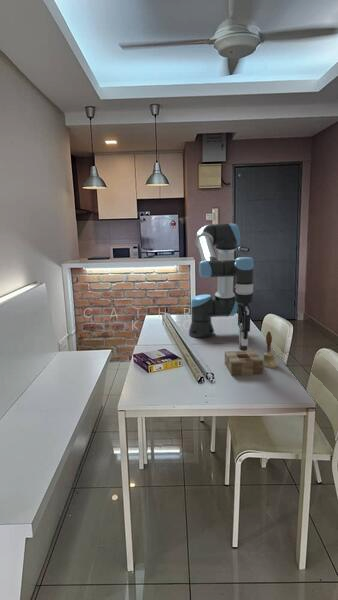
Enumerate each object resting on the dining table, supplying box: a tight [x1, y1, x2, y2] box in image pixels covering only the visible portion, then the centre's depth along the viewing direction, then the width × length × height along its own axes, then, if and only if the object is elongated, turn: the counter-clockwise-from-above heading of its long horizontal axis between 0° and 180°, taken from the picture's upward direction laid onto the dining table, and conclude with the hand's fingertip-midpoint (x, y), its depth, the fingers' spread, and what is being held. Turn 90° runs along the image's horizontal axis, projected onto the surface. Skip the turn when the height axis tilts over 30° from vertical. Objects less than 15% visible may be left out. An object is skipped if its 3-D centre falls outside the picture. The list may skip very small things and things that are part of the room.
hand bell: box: [262, 331, 279, 369], centre depth 170 cm, size 8×8×16 cm
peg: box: [238, 323, 248, 351], centre depth 164 cm, size 4×4×12 cm
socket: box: [224, 349, 264, 377], centre depth 167 cm, size 14×14×6 cm
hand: (243, 343), depth 165 cm, fingers closed on peg, 3 cm apart
